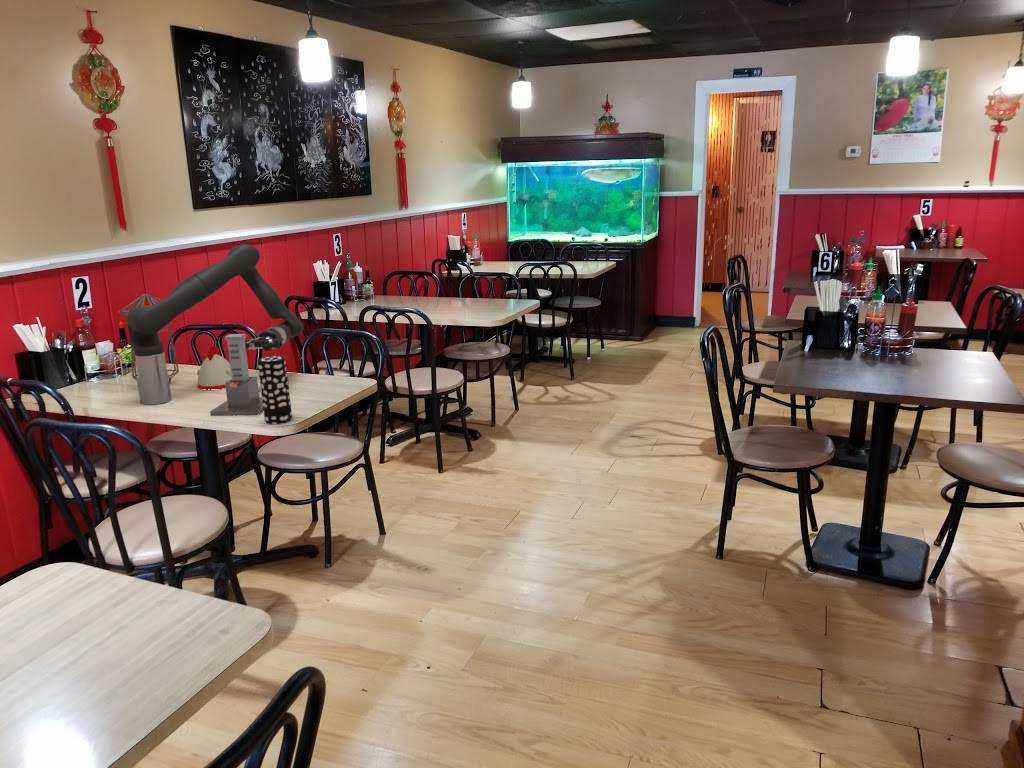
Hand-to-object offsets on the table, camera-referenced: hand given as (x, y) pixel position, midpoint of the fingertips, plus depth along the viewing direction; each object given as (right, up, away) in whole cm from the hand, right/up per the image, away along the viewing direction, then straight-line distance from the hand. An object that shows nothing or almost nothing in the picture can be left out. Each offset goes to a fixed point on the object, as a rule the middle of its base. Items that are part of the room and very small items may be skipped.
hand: (254, 348), depth 262 cm
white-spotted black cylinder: (+15, -24, -21) cm, 35 cm away
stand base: (-1, -20, -7) cm, 22 cm away
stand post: (-1, -19, -8) cm, 20 cm away
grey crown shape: (-22, -13, +24) cm, 35 cm away
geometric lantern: (-45, -13, +26) cm, 53 cm away
